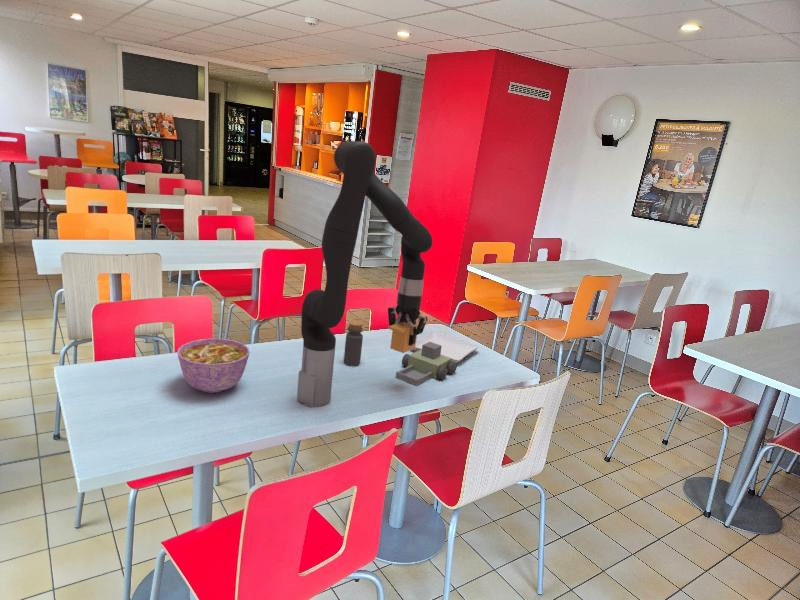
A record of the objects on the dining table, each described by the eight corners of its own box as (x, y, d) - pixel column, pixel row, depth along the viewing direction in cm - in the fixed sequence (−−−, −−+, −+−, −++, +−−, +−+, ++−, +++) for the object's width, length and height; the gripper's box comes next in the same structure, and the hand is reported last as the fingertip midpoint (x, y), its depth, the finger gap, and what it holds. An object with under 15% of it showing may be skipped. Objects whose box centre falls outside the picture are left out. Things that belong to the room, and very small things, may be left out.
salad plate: (457, 368, 196) (459, 359, 195) (407, 352, 206) (408, 343, 205) (478, 353, 214) (480, 345, 213) (432, 338, 224) (433, 331, 223)
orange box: (398, 355, 164) (401, 330, 162) (385, 350, 167) (388, 326, 165) (415, 347, 172) (418, 324, 170) (402, 343, 175) (405, 320, 173)
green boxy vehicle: (426, 389, 174) (430, 364, 172) (386, 374, 182) (389, 349, 180) (455, 372, 191) (459, 349, 189) (417, 358, 199) (420, 336, 197)
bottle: (352, 367, 184) (356, 326, 180) (340, 362, 188) (343, 322, 183) (363, 363, 189) (367, 323, 185) (351, 358, 192) (355, 319, 188)
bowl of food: (239, 369, 172) (240, 336, 169) (255, 397, 155) (257, 360, 152) (172, 376, 162) (172, 340, 159) (182, 406, 145) (182, 367, 142)
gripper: (384, 287, 166) (378, 338, 171) (423, 299, 159) (416, 352, 163) (398, 284, 172) (392, 333, 177) (436, 295, 165) (428, 346, 170)
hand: (403, 342), depth 170 cm, fingers closed on orange box, 5 cm apart
